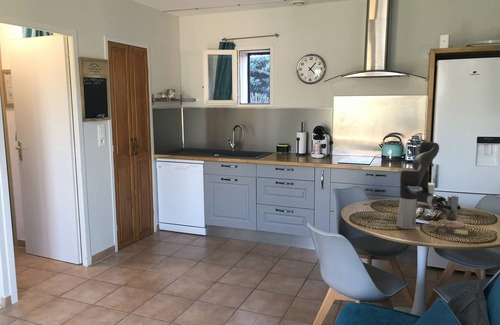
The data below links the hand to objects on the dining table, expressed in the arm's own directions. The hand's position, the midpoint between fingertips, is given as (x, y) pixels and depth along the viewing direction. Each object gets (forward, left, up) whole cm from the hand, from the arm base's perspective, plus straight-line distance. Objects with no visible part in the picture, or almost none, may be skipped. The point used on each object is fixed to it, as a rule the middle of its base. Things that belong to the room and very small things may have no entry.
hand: (455, 208), depth 237 cm
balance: (-13, -12, -11) cm, 20 cm away
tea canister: (0, +3, -8) cm, 8 cm away
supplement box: (+18, +51, -11) cm, 56 cm away
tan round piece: (0, +2, -11) cm, 11 cm away
